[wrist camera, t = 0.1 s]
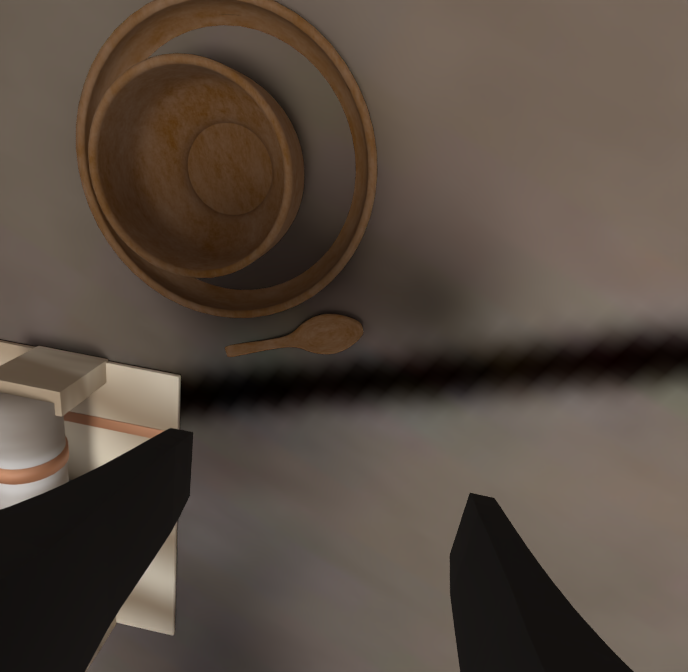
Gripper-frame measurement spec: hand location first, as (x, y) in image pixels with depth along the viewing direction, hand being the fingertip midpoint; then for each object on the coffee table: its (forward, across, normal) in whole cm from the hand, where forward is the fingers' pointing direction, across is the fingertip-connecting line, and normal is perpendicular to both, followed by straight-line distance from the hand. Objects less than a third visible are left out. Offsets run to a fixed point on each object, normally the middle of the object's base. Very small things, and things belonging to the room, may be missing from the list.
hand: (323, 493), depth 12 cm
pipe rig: (+10, +14, +12) cm, 21 cm away
